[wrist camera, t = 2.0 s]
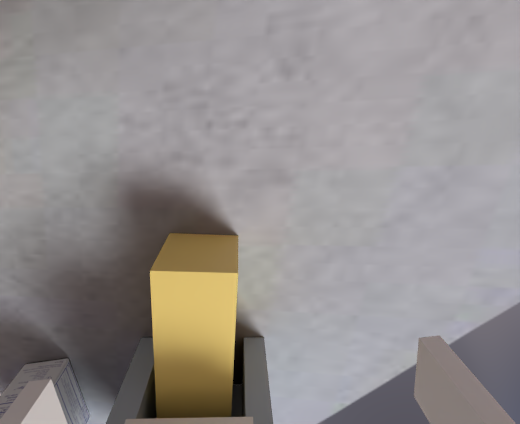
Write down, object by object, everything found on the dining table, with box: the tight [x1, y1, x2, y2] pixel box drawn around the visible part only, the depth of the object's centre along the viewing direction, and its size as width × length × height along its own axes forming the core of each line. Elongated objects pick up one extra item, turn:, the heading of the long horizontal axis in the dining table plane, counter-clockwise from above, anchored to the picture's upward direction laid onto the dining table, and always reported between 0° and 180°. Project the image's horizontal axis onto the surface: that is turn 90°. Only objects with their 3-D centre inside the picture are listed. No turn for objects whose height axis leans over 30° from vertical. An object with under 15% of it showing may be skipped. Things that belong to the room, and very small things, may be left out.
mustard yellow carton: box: [150, 233, 238, 418], centre depth 28 cm, size 6×16×7 cm, turn 176°
